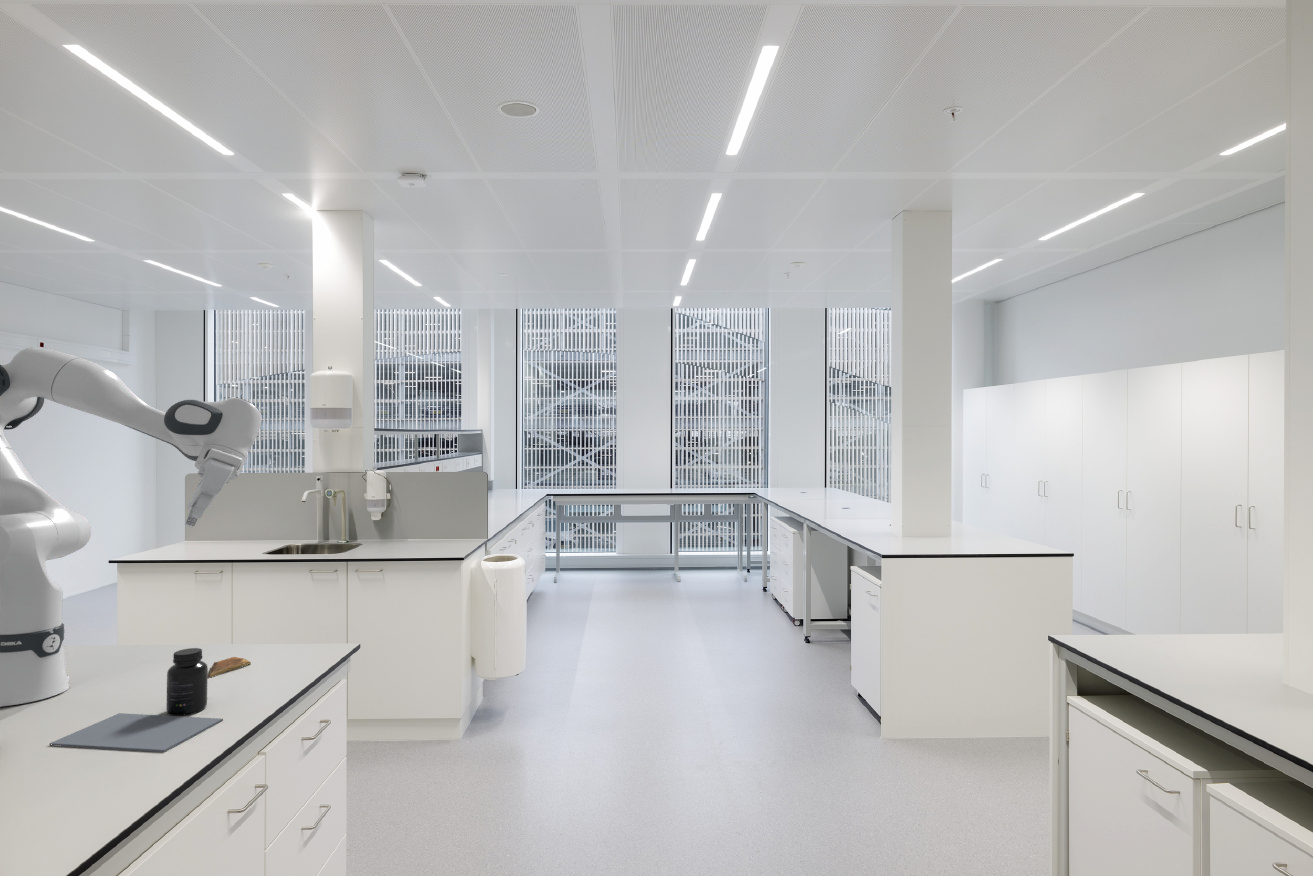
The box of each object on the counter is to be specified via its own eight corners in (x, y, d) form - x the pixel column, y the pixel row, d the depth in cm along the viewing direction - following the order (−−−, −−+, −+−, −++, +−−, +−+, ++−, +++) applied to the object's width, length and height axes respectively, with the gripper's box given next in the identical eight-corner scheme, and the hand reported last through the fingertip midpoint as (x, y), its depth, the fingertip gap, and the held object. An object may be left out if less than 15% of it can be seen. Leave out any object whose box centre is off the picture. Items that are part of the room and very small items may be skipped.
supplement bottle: (173, 706, 138) (175, 647, 139) (211, 702, 140) (213, 645, 141) (159, 718, 132) (162, 657, 132) (200, 715, 134) (202, 654, 134)
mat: (49, 745, 119) (49, 743, 119) (119, 715, 133) (119, 713, 133) (164, 752, 117) (164, 750, 117) (222, 720, 131) (223, 718, 131)
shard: (208, 680, 155) (209, 672, 155) (186, 676, 158) (186, 668, 158) (252, 666, 165) (252, 659, 166) (230, 663, 168) (230, 655, 168)
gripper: (196, 471, 158) (169, 526, 151) (212, 446, 143) (183, 506, 137) (225, 481, 161) (200, 535, 154) (243, 457, 147) (217, 516, 140)
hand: (192, 521), depth 145 cm, fingers open, 8 cm apart
